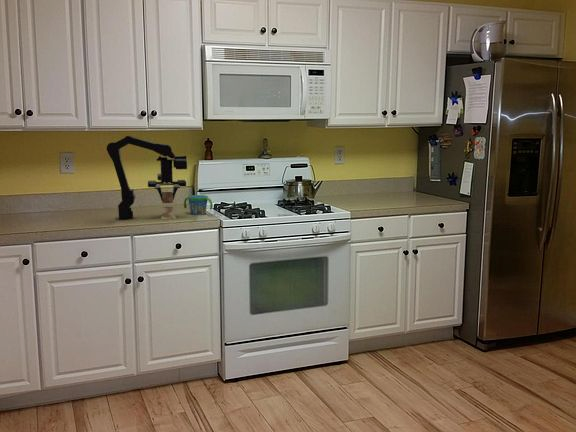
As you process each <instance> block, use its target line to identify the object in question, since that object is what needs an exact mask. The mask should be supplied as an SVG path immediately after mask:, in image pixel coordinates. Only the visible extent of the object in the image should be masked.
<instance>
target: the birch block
mask: <svg viewBox="0 0 576 432" xmlns="http://www.w3.org/2000/svg"><path fill="white" fill-rule="evenodd" d="M162 216H163V218H169V219H175V218H174V216H175V214H174V207H173V206H163V207H162Z"/></svg>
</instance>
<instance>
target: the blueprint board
mask: <svg viewBox="0 0 576 432" xmlns="http://www.w3.org/2000/svg"><path fill="white" fill-rule="evenodd" d="M160 217H161V220H166V219H170V218H163V215H162V216H160ZM173 219H177V218H176V215H174V218H173Z"/></svg>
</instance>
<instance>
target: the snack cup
mask: <svg viewBox="0 0 576 432" xmlns="http://www.w3.org/2000/svg"><path fill="white" fill-rule="evenodd" d="M187 201H188V205H189V210H190V215H195V216H196V215H197V216H198V215H205V214H206V212H207V205H208V202H209V210H210V211H211V210H213V202H212V199H211V198H210V197H209V196H208V195H205V194H198V195H197V194H194V195H193V194H192V195H188V196H187V197H185V198H184V201H183V208H184V209H187V207H188V206H187Z"/></svg>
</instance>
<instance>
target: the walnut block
mask: <svg viewBox="0 0 576 432" xmlns="http://www.w3.org/2000/svg"><path fill="white" fill-rule="evenodd" d="M161 192H162V191H161ZM162 199H163V201H162V200H161V203H162V204H173V203H174V200H173V191H163V192H162Z"/></svg>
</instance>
